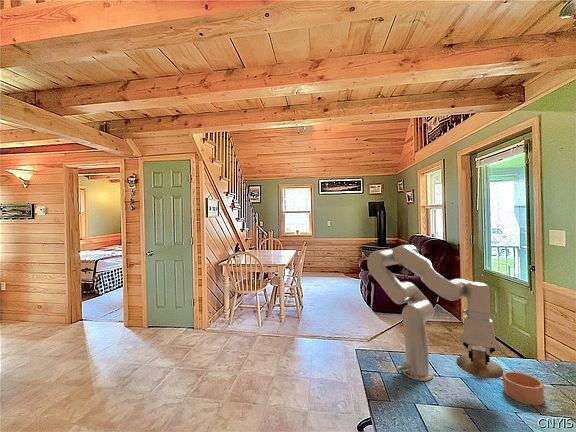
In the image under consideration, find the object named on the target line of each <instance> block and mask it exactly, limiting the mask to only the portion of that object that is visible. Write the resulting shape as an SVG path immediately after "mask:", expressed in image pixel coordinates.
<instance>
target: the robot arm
mask: <svg viewBox="0 0 576 432" xmlns="http://www.w3.org/2000/svg"><path fill="white" fill-rule="evenodd" d="M366 263H367V264H366V265H367V269H368V272H369V273H370V275H371V276H372V277H373V278H374V280H375V281H376V282H377V283H378V284H379V285H380V287H381V288H382V290H383V291H384V292H385V293H386V295H387V296H388V297H389V298H390V299H391V301H392V302H393V303H395V304H397V305H402V304H406V303H407V304H406V305H405V306H404V307H403V309H402V312H401V318H402V323H403V329H404V352H405V361H403V364H402V365H397V366H396V367H395V368H396V369H395V370H396V371H397V372H400V371H402V373H403V375H405V376H406V377H408V378H409V379H411V380H414V381H419V382H420V381H421V382H428V381H431V380H433V378H434V373H433V371H432V370H431V369H430V365H429V363H430V362H429V340H428V331H427V327H426V322H428V321H429V320H431V319H432V318H433V317H434V316H435V308H434V306H433V304H432V302H431V301H430V300H429V299H428V298H427V296H425V295H424V294H423V292H422V291H421V290H420V289H419V288H418V286H416V285H415V284H414V283H413V282H410V281H400V280H399V279H398V278H397V276H396V275H395V274H394V273H393V272H392V271H391V270H389V269H388V268H387V267H389V266H393V265H394V266H395V265H401V266H403V268H406V269H407V270H409V271H410V272H412V273H414V274H415V275H416V276H417V277H418V278H420V280H421V281H422V283H424V285H425V286H426V287H427V288H429V290H431V292H434V293H435V294H437V295H438V296H440V297H441V298H443V299H445V300H447V301H450V302H451V301H457V300H459V299H462V298H465V301H466V309H462V310H461V311H462V313H463V314H465V315H464V318H463V324H462V325H463V327H462V333H461V334H460V335H459V336H458V337H457V341H458V342H459V343H460V344H462V345H463V346H464V347H465V348H466V349H467V351H468V356H469V358H471V362H473V346H475V345H476V346H481V347H485V349H486V351H485V365H488V364H487V362H489V363H490V361H491V359H490V356H491V354H493V353H494V352H496V351H500V350H501V349H502V346H501V345H500V344H499V343H498V341H497V339H496V335H495V333H496V332H495V326H494V321H493V320H492V319H491V309H490V308H491V304H490V303H491V302H490V299H491V295H490V287H489V285H488V284H486V283H484V282H479V281H469V280H465V279H463V278H453V279H447V278H445V277H444V276H443V275H441V274H440V273H438V272H437V271H436V270H435V269H434V267H433V264H432V262H431V260H430V259H428V258H426V257H425V256H423V255H421V254H420V252H419V249H418V248H417V246H415V245H413V244H402V245H398V246H396V247H393V248H387V249H386V248H385V249H378V250H374V251H372V252H371V253H369V255H368V257H367V261H366Z"/></svg>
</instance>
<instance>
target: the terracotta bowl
mask: <svg viewBox="0 0 576 432" xmlns="http://www.w3.org/2000/svg"><path fill="white" fill-rule="evenodd" d="M544 387H545V386H544V383H543V382H542V381H541V380H540V379H539V378H537V377H535V376H533V375H531V374H528V373H524V372H520V371H512V370H511V371H503V376H502V390H503V392H504V394H505V395H506V396H508V397H510V398H511V399H512V400H514V401H517V402H520V403H521V404H522V403H523V404H525V405H532V406H539V405H544V404H545V388H544Z"/></svg>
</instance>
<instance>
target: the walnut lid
mask: <svg viewBox="0 0 576 432" xmlns="http://www.w3.org/2000/svg"><path fill="white" fill-rule="evenodd" d="M472 350H473V362H471V358H469V355H460V356H458V357H457V358H456V365H457V367H459V368H460V370H462V371H464V372H466V373H468V374H471V375H473V376H475V377H479V378H484V379H499V378H503V374H504V369H503V367H502V366H501V365H500V364H498V363H496V362H494V361H492V360H490V363H489V362H487V364H488V365H485V349H484V348H479V347H475V345H472Z"/></svg>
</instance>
